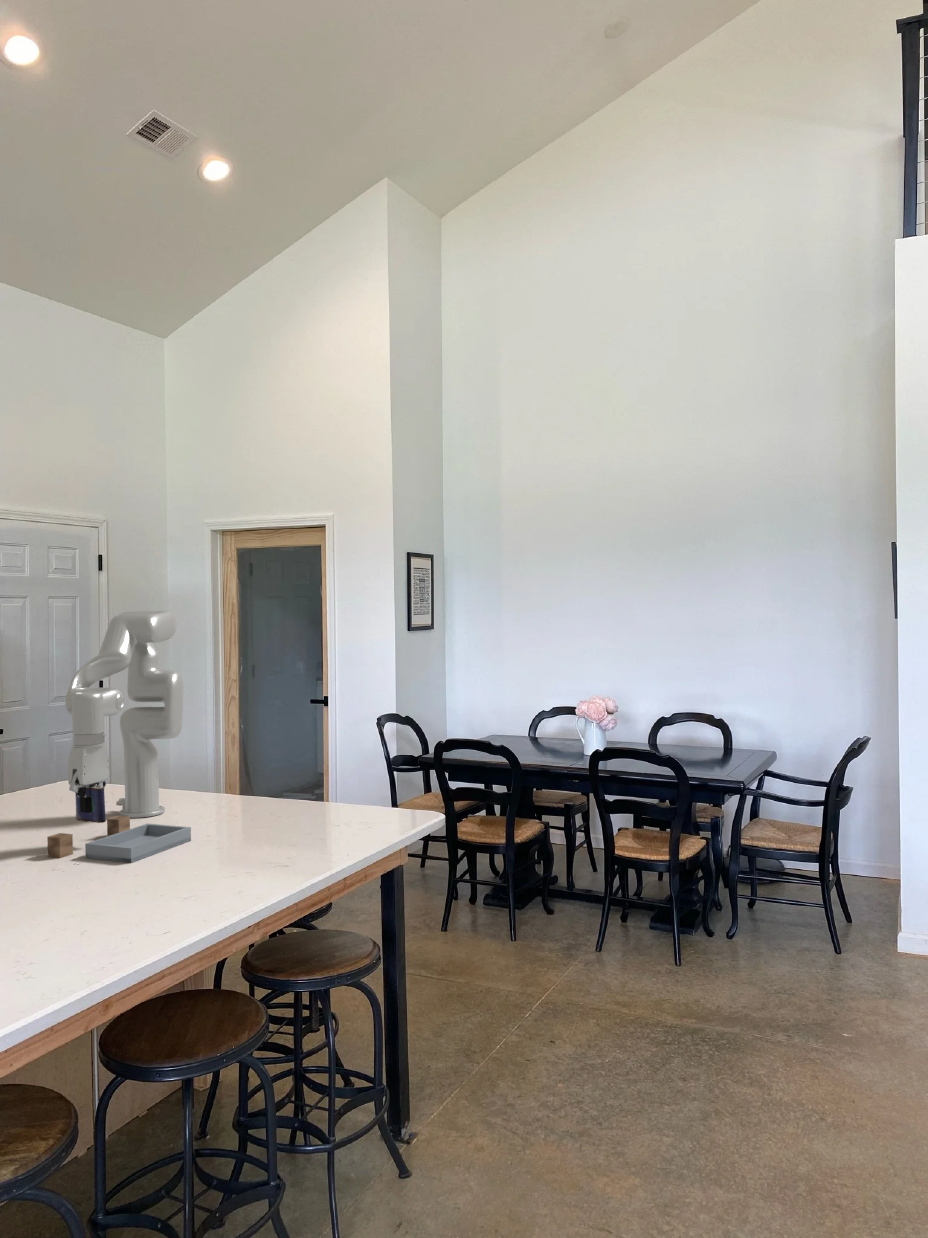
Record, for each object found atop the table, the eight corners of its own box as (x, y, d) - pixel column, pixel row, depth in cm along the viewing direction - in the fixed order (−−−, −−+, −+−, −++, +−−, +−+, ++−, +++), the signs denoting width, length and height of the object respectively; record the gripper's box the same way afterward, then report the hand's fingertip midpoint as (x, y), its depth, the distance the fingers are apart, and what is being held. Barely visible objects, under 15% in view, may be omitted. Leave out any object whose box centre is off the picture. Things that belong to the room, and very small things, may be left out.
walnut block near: (47, 857, 224) (47, 836, 224) (60, 852, 228) (60, 833, 228) (60, 858, 223) (59, 838, 223) (72, 854, 226) (72, 834, 226)
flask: (73, 820, 236) (72, 779, 236) (82, 817, 239) (81, 776, 238) (100, 823, 232) (99, 781, 232) (109, 821, 235) (108, 779, 234)
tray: (85, 858, 222) (85, 843, 222) (147, 836, 243) (147, 823, 243) (131, 863, 217) (130, 848, 217) (191, 840, 238) (190, 827, 238)
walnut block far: (107, 837, 243) (107, 818, 243) (118, 834, 246) (117, 815, 246) (119, 838, 241) (118, 820, 241) (130, 835, 245) (129, 816, 245)
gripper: (100, 734, 243) (103, 802, 244) (52, 744, 228) (55, 817, 229) (123, 735, 241) (125, 804, 241) (75, 745, 226) (78, 819, 226)
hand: (91, 810), depth 235 cm, fingers closed on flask, 2 cm apart
